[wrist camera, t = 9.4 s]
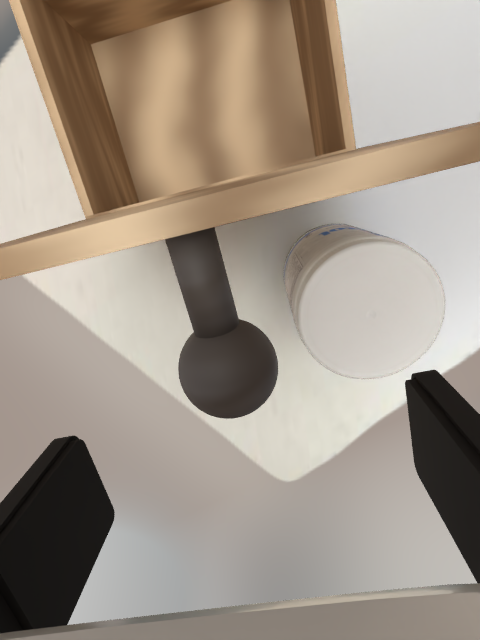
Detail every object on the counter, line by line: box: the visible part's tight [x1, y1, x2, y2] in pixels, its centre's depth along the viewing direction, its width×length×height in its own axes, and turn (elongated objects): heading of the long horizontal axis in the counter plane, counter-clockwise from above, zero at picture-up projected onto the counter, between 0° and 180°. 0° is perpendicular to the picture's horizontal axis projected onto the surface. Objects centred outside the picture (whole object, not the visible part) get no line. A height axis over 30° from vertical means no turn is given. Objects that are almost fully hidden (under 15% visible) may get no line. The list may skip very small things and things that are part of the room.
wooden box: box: [9, 0, 356, 219], centre depth 28 cm, size 18×15×12 cm
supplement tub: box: [284, 224, 445, 379], centre depth 31 cm, size 10×10×15 cm
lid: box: [0, 122, 480, 418], centre depth 18 cm, size 18×15×8 cm
